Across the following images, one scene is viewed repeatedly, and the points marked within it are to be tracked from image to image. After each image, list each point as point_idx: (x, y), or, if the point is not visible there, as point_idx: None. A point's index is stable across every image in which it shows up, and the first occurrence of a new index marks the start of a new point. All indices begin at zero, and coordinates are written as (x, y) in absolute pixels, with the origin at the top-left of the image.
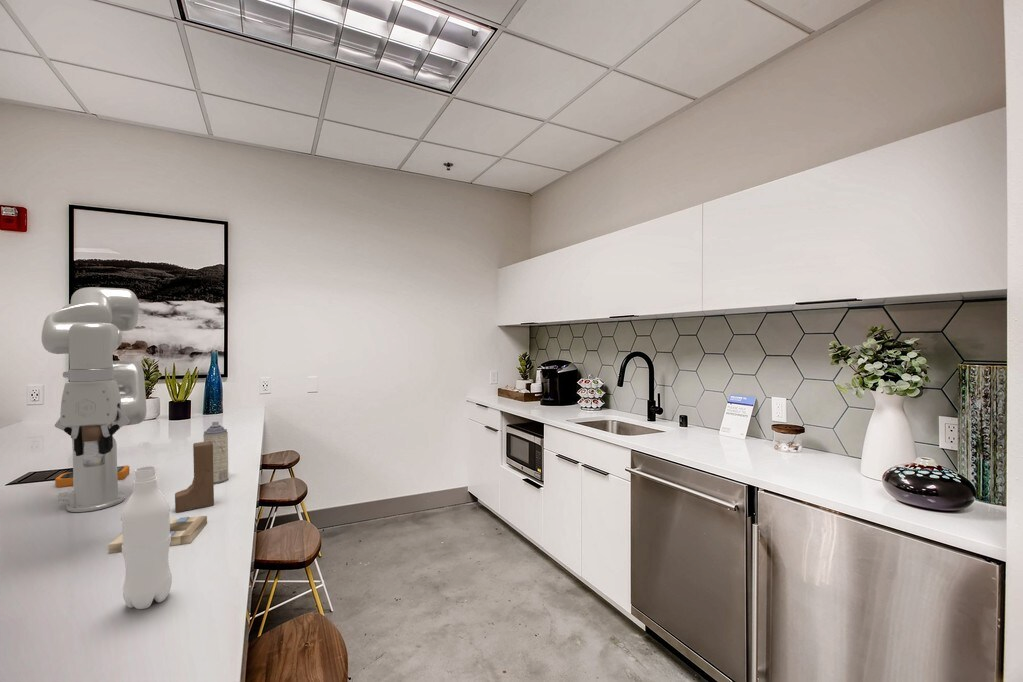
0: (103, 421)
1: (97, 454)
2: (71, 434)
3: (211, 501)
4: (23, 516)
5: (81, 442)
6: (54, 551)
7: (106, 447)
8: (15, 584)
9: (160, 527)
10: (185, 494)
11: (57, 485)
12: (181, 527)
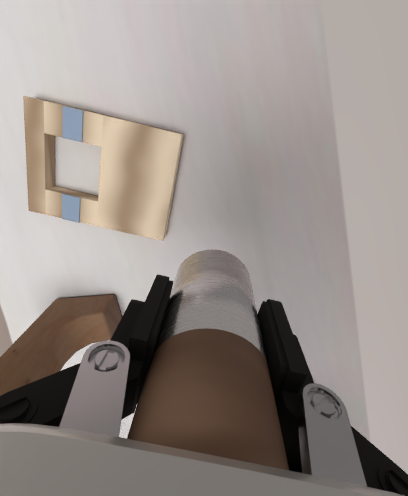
0: (4, 471)
1: (187, 281)
2: (347, 422)
3: (54, 302)
4: (346, 395)
5: (269, 363)
6: (278, 204)
7: (143, 304)
8: (316, 52)
9: None
10: (85, 315)
11: None
12: (75, 193)
